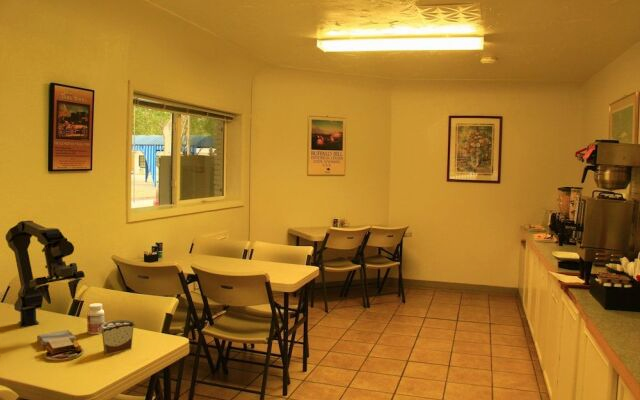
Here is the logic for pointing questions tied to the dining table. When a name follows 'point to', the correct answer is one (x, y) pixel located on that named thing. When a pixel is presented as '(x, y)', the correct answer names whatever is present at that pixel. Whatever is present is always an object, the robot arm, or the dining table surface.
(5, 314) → the dining table surface
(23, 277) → the robot arm
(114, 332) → the food container
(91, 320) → the pill bottle
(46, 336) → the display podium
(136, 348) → the dining table surface
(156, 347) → the dining table surface
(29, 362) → the dining table surface
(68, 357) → the toy sandwich meal
